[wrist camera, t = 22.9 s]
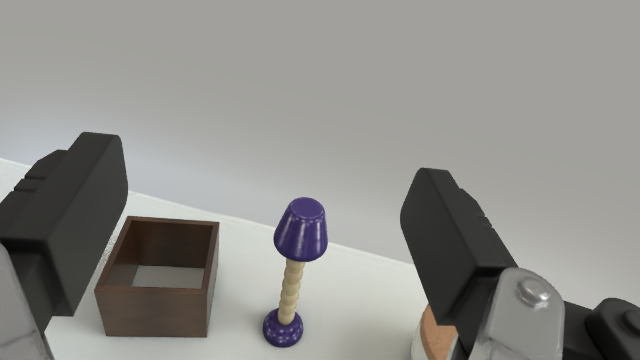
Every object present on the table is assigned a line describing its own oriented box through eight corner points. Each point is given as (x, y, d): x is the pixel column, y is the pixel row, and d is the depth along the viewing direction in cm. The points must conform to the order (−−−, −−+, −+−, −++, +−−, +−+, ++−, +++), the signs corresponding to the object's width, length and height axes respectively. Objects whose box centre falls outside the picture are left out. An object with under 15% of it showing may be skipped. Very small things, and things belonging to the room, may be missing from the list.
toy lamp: (250, 323, 39) (266, 203, 30) (282, 298, 43) (306, 182, 33) (282, 356, 37) (310, 239, 27) (313, 327, 40) (349, 212, 31)
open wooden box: (106, 336, 36) (93, 290, 32) (134, 260, 43) (127, 215, 39) (206, 337, 37) (207, 294, 33) (217, 264, 45) (219, 221, 40)
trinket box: (524, 428, 36) (582, 382, 30) (427, 454, 33) (472, 408, 27) (464, 326, 44) (501, 275, 39) (381, 339, 41) (409, 285, 35)
